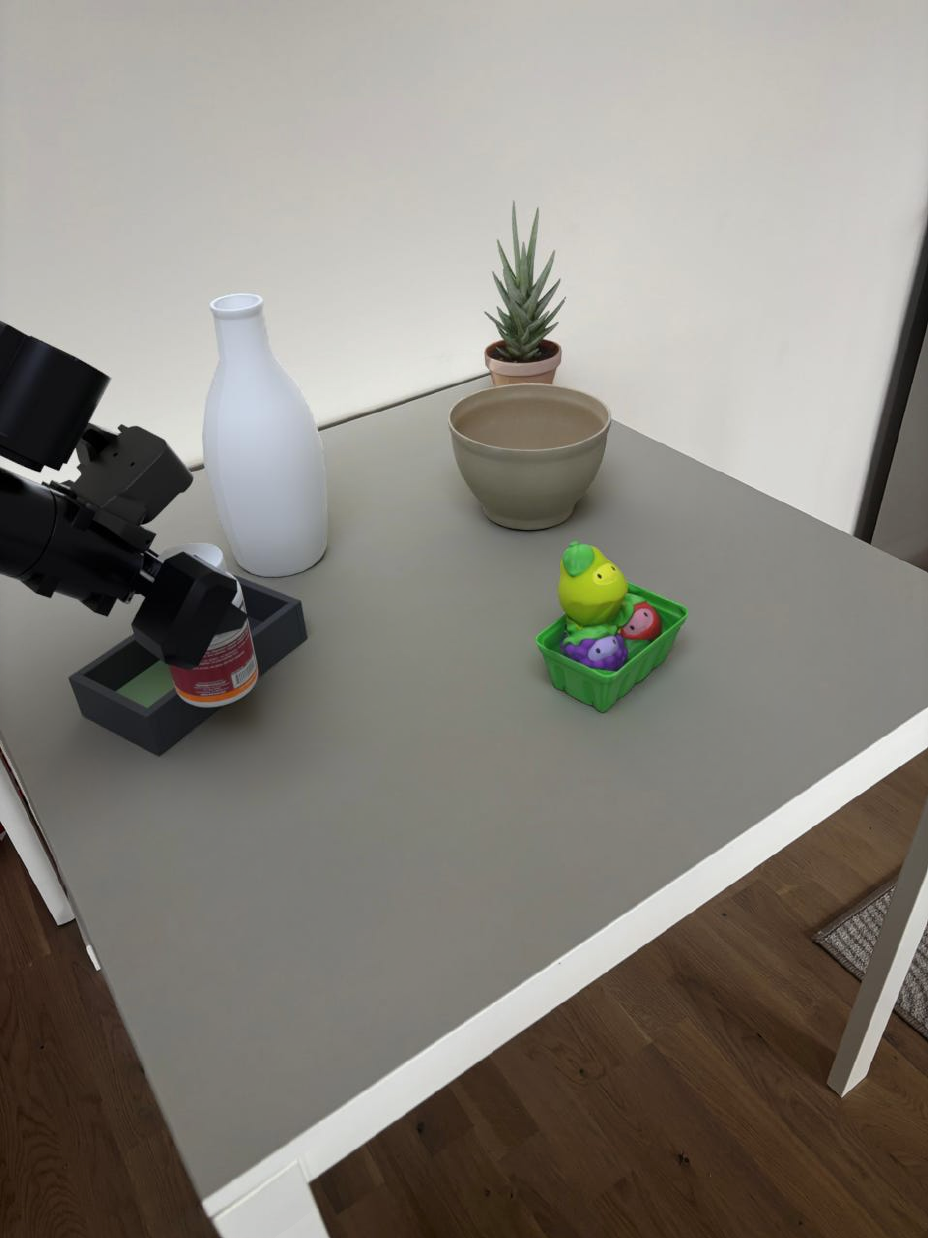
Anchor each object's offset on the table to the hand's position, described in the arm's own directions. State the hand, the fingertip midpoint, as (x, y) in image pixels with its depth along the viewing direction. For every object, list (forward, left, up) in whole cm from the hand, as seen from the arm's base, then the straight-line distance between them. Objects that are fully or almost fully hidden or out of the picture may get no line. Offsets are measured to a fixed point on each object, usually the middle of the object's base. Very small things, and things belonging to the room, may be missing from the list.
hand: (217, 603), depth 69 cm
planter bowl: (+41, -2, -12) cm, 43 cm away
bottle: (+21, +15, -12) cm, 29 cm away
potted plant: (+63, +13, -12) cm, 66 cm away
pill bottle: (-1, 0, -7) cm, 7 cm away
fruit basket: (+21, -21, -12) cm, 32 cm away
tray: (+3, +8, -12) cm, 15 cm away
